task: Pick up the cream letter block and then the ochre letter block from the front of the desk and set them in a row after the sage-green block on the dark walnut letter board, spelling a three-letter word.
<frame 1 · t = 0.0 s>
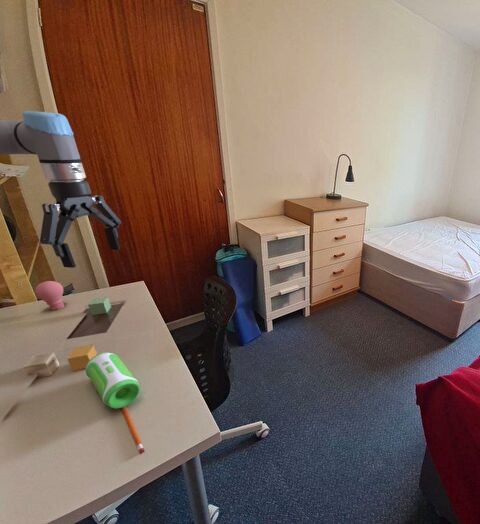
hand: (94, 257, 80), 30 cm above the table, tool pointing down, fingers open, 13 cm apart
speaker: (116, 389, 74), on the table
pencil: (131, 425, 65), on the table
beige cube: (45, 371, 79), on the table
tile b: (86, 363, 82), on the table
board: (96, 322, 100), on the table
light bulb: (58, 310, 106), on the table
green cube: (101, 311, 105), point 1 cm above the table, touching board
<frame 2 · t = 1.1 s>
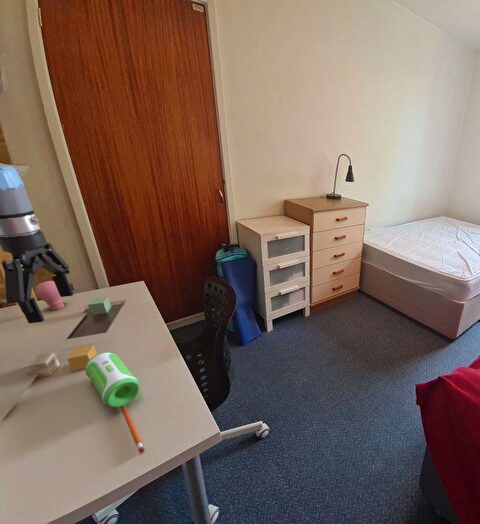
hand: (53, 307, 76), 18 cm above the table, tool pointing down, fingers open, 13 cm apart
nothing on the table moved.
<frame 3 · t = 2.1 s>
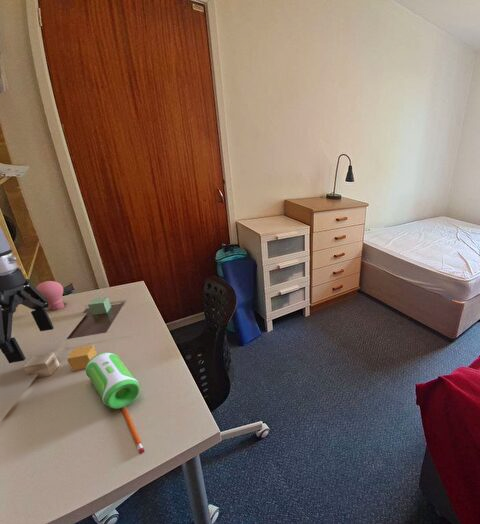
hand: (33, 344, 75), 10 cm above the table, tool pointing down, fingers open, 13 cm apart
nothing on the table moved.
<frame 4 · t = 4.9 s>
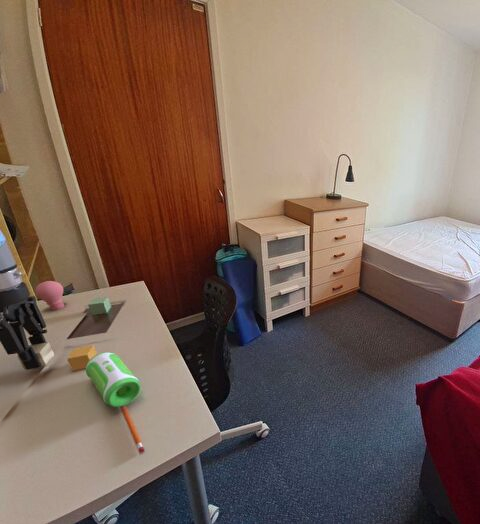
hand: (39, 361, 77), 4 cm above the table, tool pointing down, fingers closed on beige cube, 4 cm apart
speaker: (116, 389, 74), on the table, touching pencil
pencil: (130, 424, 65), on the table, touching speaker
beige cube: (40, 361, 77), point 3 cm above the table, touching gripper
everything else where it was.
when the fingers open (1 cm above the table, at t = 10.4 s): beige cube stays where it is, resting on board.
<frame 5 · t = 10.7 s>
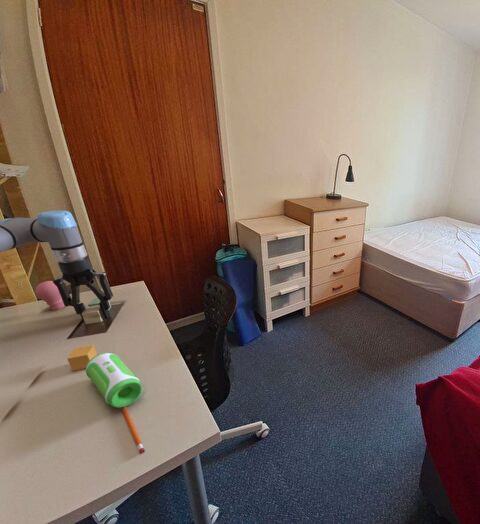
hand: (97, 318, 100), 1 cm above the table, tool pointing down, fingers open, 5 cm apart
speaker: (117, 389, 74), on the table
pencil: (130, 425, 65), on the table
beige cube: (96, 319, 100), point 1 cm above the table, touching board
everything else where it was.
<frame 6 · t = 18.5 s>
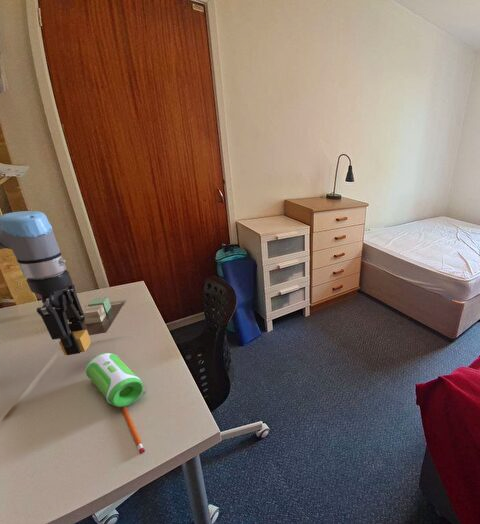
hand: (78, 347, 80), 6 cm above the table, tool pointing down, fingers closed on tile b, 4 cm apart
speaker: (118, 389, 74), on the table, touching pencil
pencil: (131, 425, 65), on the table, touching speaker
tile b: (78, 348, 80), point 6 cm above the table, touching gripper
everything else where it was.
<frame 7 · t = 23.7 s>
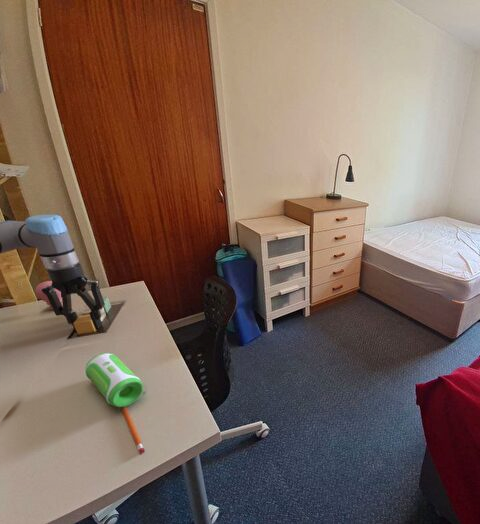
hand: (89, 328, 95), 1 cm above the table, tool pointing down, fingers closed on tile b, 5 cm apart
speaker: (117, 389, 74), on the table
pencil: (130, 425, 65), on the table
tile b: (89, 329, 95), point 1 cm above the table, touching gripper
everything else where it was.
when the fingers open (1 cm above the table, at t = 23.7 s): tile b stays where it is, resting on board.
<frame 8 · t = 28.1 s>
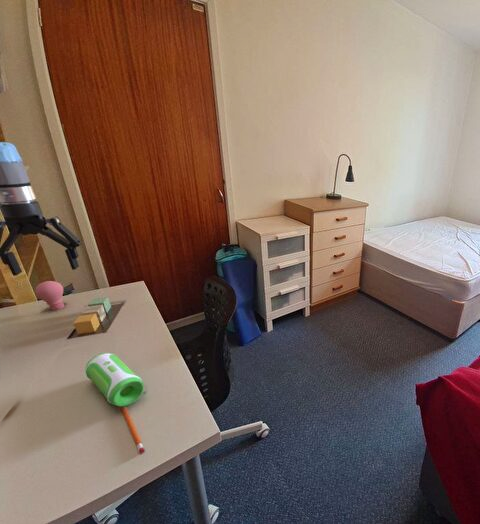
hand: (47, 270, 86), 23 cm above the table, tool pointing down, fingers open, 13 cm apart
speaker: (118, 389, 74), on the table, touching pencil
pencil: (130, 425, 65), on the table, touching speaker
tile b: (89, 329, 95), point 1 cm above the table, touching board
everything else where it was.
at the end: beige cube 0.2 cm off-centre on the board, point 1.0 cm above the board's base; tile b 0.2 cm from the target spot on the board, point 1.0 cm above the board's base; tile b tilted 0° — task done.
